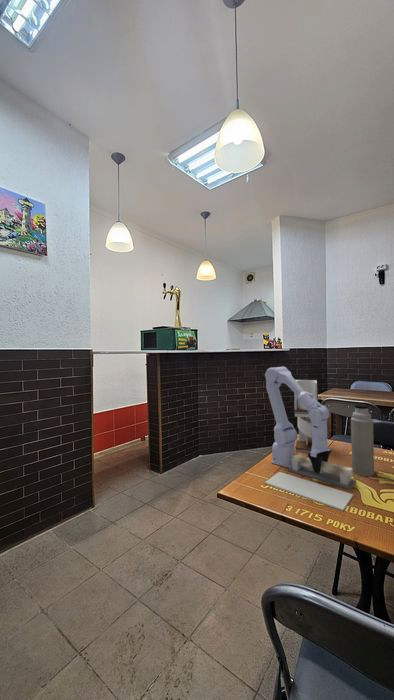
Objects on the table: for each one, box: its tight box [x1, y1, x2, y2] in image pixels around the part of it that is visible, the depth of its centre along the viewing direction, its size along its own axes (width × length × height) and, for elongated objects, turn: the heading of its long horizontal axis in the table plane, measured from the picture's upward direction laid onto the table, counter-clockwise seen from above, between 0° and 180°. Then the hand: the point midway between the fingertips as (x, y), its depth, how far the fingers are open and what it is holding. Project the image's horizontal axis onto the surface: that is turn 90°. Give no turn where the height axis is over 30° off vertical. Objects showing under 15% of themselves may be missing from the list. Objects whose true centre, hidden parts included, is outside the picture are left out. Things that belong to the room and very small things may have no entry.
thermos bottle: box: [350, 404, 375, 477], centre depth 116 cm, size 8×8×28 cm
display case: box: [293, 379, 318, 454], centre depth 144 cm, size 11×11×35 cm
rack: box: [287, 460, 357, 490], centre depth 113 cm, size 24×8×4 cm, turn 47°
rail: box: [291, 453, 354, 479], centre depth 113 cm, size 23×3×3 cm, turn 47°
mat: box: [264, 471, 354, 512], centre depth 103 cm, size 28×12×1 cm, turn 47°
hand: (320, 469), depth 113 cm, fingers open, 7 cm apart
